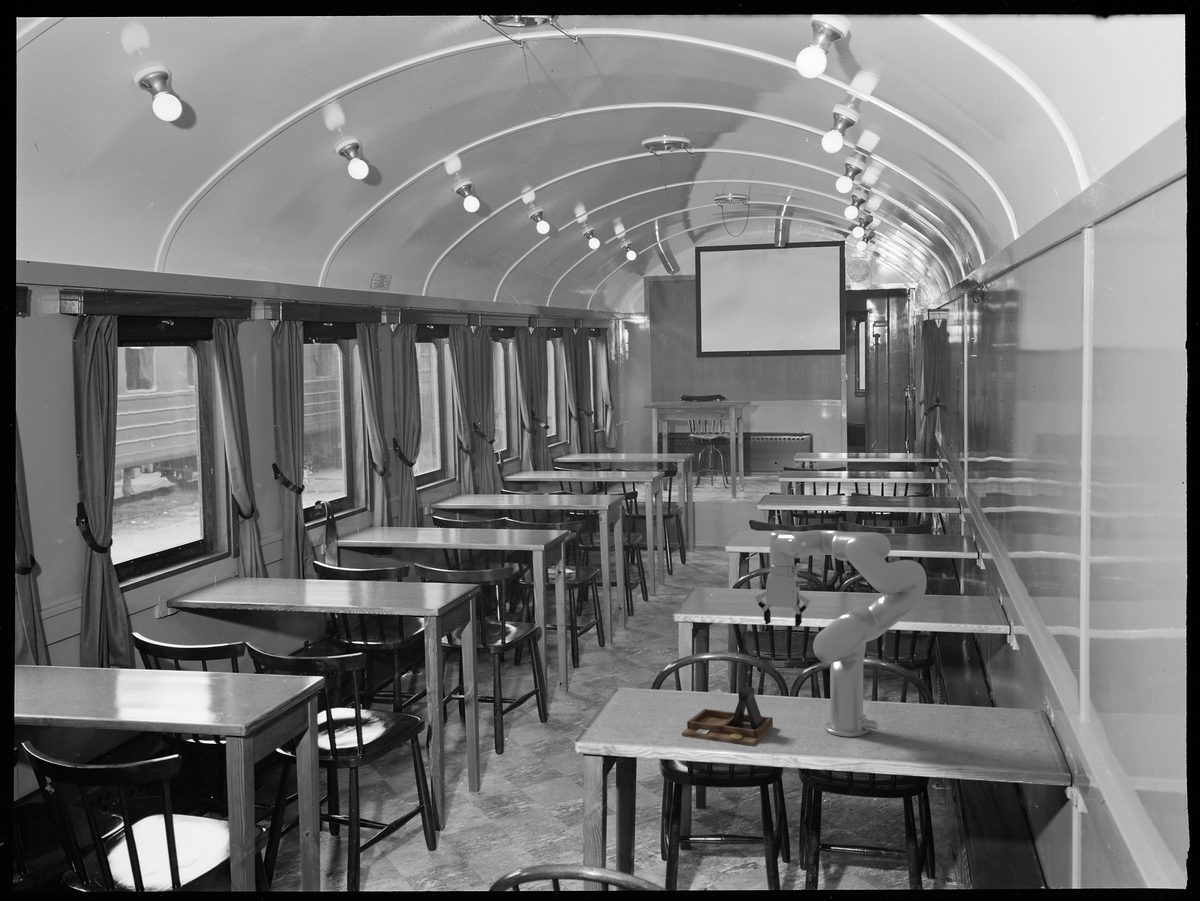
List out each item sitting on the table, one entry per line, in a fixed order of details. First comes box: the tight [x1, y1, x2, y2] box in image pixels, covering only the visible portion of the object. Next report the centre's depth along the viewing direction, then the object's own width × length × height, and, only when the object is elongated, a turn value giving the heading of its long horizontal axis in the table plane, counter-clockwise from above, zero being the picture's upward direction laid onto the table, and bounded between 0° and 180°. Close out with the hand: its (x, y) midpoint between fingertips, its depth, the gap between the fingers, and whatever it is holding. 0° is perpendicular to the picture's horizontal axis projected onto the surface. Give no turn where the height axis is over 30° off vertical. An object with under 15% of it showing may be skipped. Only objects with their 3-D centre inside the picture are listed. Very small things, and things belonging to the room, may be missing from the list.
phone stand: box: [730, 685, 763, 730], centre depth 318 cm, size 9×6×12 cm, turn 62°
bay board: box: [681, 708, 774, 747], centre depth 319 cm, size 22×18×3 cm
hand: (782, 624), depth 333 cm, fingers open, 9 cm apart
